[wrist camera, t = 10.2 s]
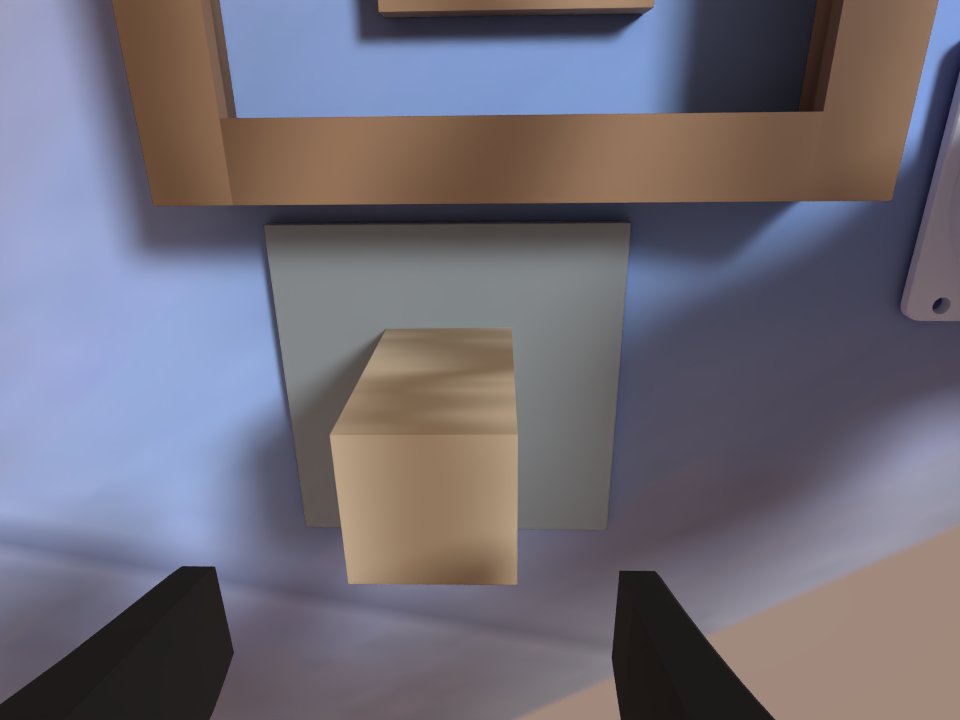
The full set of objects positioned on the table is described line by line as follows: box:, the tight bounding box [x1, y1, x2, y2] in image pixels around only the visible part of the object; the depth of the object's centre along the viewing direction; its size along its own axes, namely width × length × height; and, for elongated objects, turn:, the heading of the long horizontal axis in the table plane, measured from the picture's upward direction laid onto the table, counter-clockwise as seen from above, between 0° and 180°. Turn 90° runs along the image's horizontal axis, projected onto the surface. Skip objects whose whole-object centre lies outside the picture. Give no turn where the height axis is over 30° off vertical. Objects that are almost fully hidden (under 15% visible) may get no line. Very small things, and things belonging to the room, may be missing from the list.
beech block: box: [330, 328, 518, 585], centre depth 17 cm, size 4×4×7 cm
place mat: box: [264, 221, 631, 530], centre depth 20 cm, size 11×11×1 cm
